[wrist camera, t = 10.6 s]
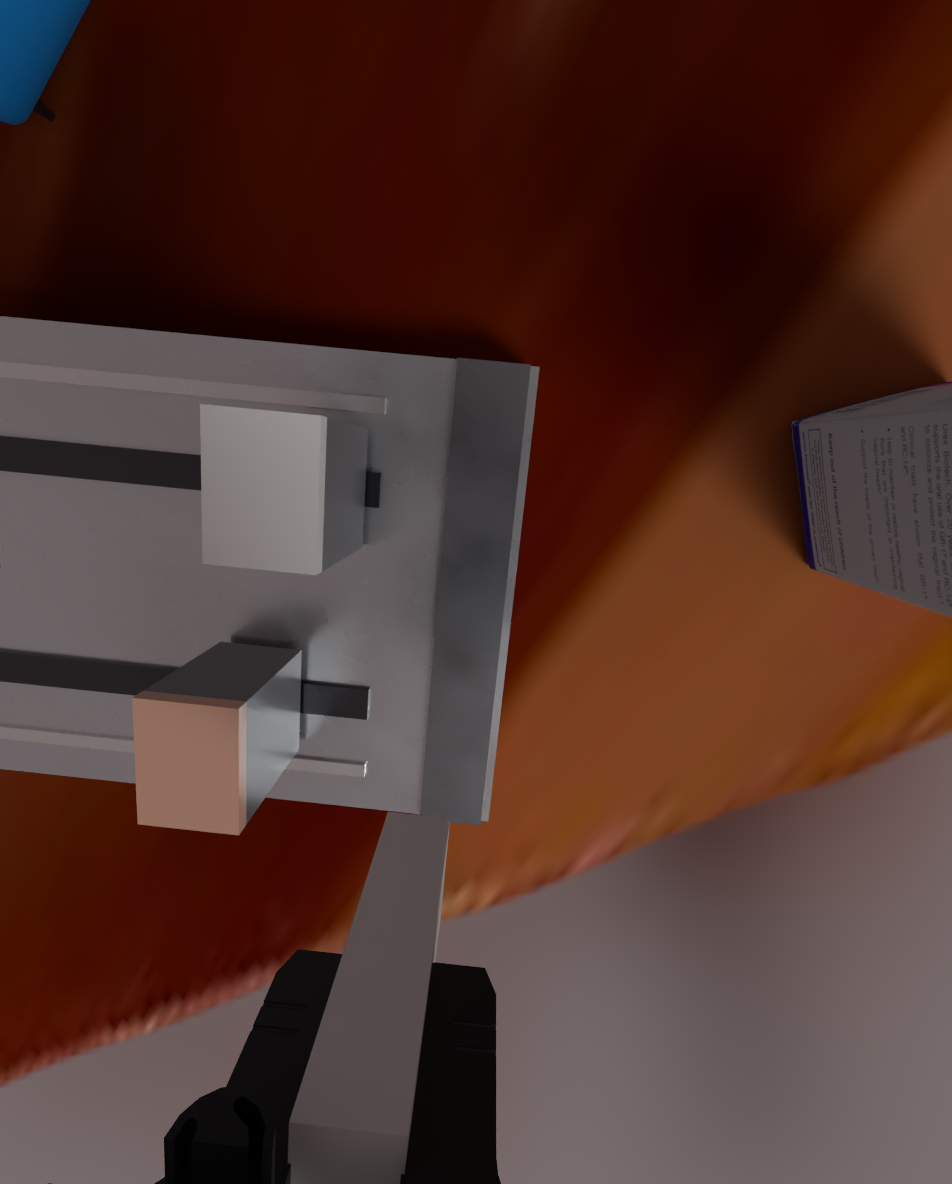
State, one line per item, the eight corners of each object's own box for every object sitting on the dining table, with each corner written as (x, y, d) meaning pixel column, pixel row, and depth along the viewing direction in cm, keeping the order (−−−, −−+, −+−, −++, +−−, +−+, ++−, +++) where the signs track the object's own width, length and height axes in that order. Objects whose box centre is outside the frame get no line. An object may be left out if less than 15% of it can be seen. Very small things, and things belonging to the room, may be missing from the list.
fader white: (279, 420, 19) (200, 404, 14) (368, 428, 19) (321, 415, 14) (277, 538, 20) (202, 563, 15) (362, 547, 20) (315, 575, 15)
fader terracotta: (220, 641, 21) (132, 697, 16) (301, 649, 20) (238, 709, 15) (221, 740, 21) (137, 824, 16) (298, 749, 21) (238, 835, 16)
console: (-163, 310, 21) (-243, 291, 19) (535, 376, 20) (540, 365, 18) (-101, 729, 25) (-161, 755, 22) (488, 792, 24) (488, 826, 22)
